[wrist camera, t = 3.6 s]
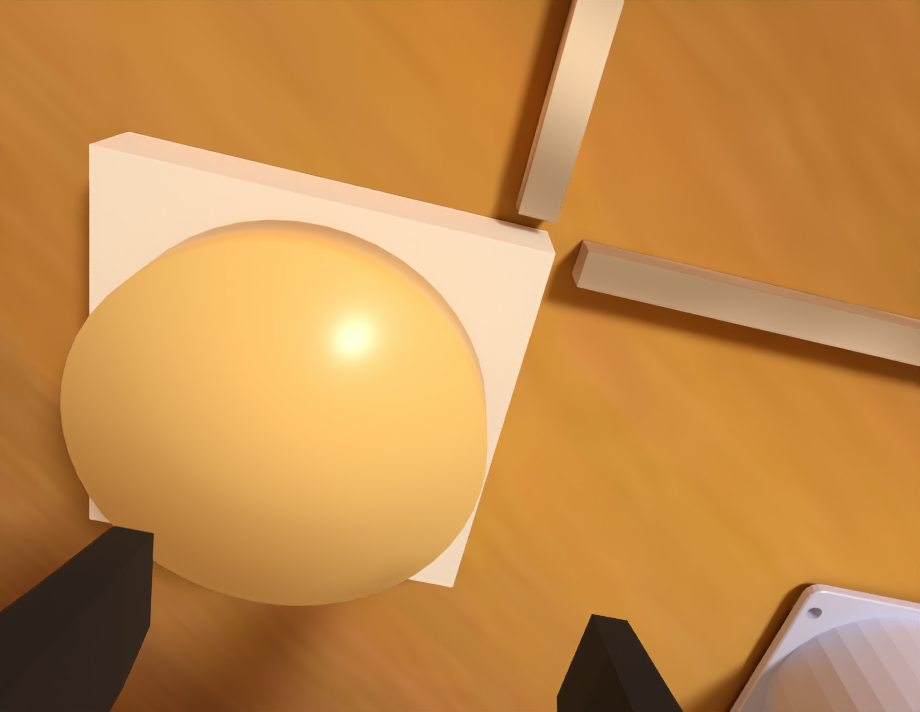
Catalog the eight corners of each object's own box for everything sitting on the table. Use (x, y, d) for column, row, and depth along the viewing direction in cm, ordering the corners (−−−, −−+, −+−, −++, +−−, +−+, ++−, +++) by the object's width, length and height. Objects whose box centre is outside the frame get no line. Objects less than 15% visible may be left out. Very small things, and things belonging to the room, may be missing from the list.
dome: (442, 536, 22) (436, 635, 19) (131, 476, 22) (63, 567, 18) (524, 248, 18) (538, 304, 15) (141, 158, 17) (55, 194, 14)
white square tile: (453, 543, 23) (452, 587, 21) (120, 478, 22) (89, 518, 20) (547, 231, 18) (555, 253, 17) (128, 131, 17) (89, 144, 16)
